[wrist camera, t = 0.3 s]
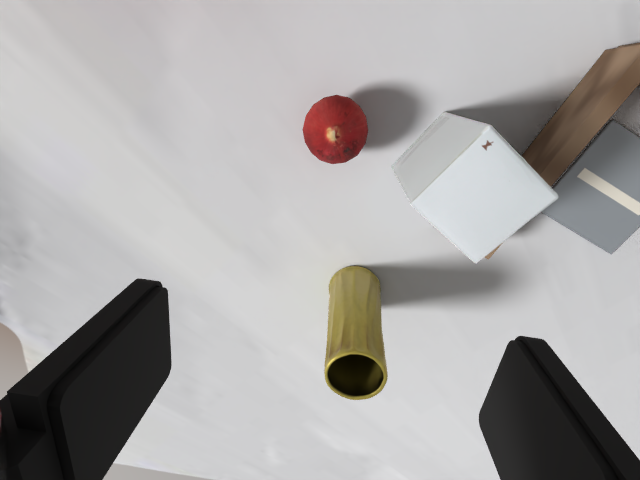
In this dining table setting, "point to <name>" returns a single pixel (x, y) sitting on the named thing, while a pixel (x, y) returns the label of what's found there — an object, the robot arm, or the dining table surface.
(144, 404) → the robot arm
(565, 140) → the corner arena
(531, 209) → the supplement box
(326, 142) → the red oval fruit
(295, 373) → the dining table surface
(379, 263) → the dining table surface
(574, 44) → the dining table surface
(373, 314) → the vase
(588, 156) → the pad
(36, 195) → the dining table surface
